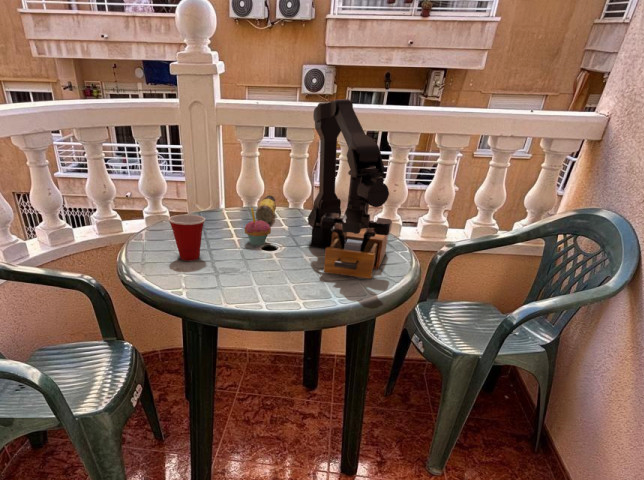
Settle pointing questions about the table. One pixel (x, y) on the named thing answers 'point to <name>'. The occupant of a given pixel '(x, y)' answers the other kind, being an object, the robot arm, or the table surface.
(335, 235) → the cabinet
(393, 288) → the table surface
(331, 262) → the wooden drawer
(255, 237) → the cupcake
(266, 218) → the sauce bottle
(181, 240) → the plastic cup
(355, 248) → the block
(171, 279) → the table surface
